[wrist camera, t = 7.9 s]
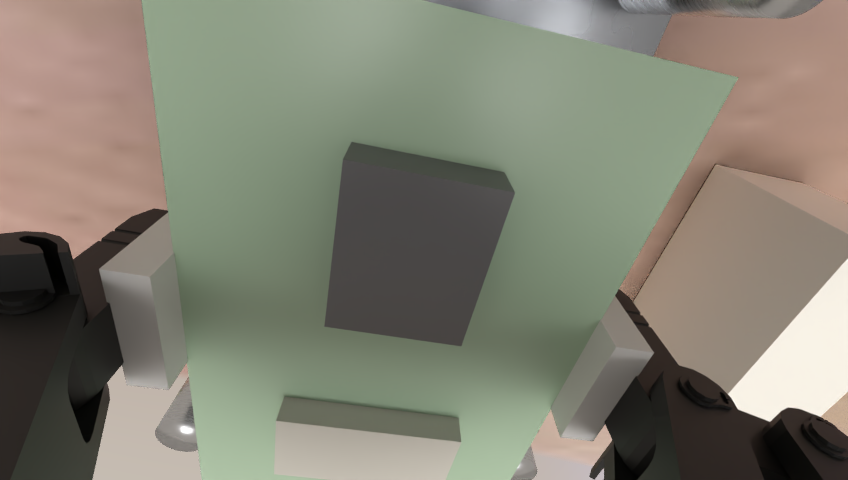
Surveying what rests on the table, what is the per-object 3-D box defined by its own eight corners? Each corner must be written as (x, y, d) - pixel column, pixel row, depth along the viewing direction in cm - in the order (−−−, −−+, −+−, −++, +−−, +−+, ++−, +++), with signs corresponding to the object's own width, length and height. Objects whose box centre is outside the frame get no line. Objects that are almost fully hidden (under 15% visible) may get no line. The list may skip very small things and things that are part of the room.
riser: (715, 164, 16) (862, 241, 11) (803, 183, 16) (986, 266, 11) (624, 316, 20) (698, 427, 14) (697, 328, 20) (794, 440, 15)
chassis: (202, -186, 11) (-57, -420, 5) (680, -52, 12) (918, -106, 6) (228, 321, 19) (147, 454, 14) (502, 359, 21) (534, 493, 15)
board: (234, -43, 7) (82, -84, 4) (637, 55, 8) (784, 87, 5) (244, 391, 13) (187, 519, 10) (478, 420, 14) (496, 545, 11)
